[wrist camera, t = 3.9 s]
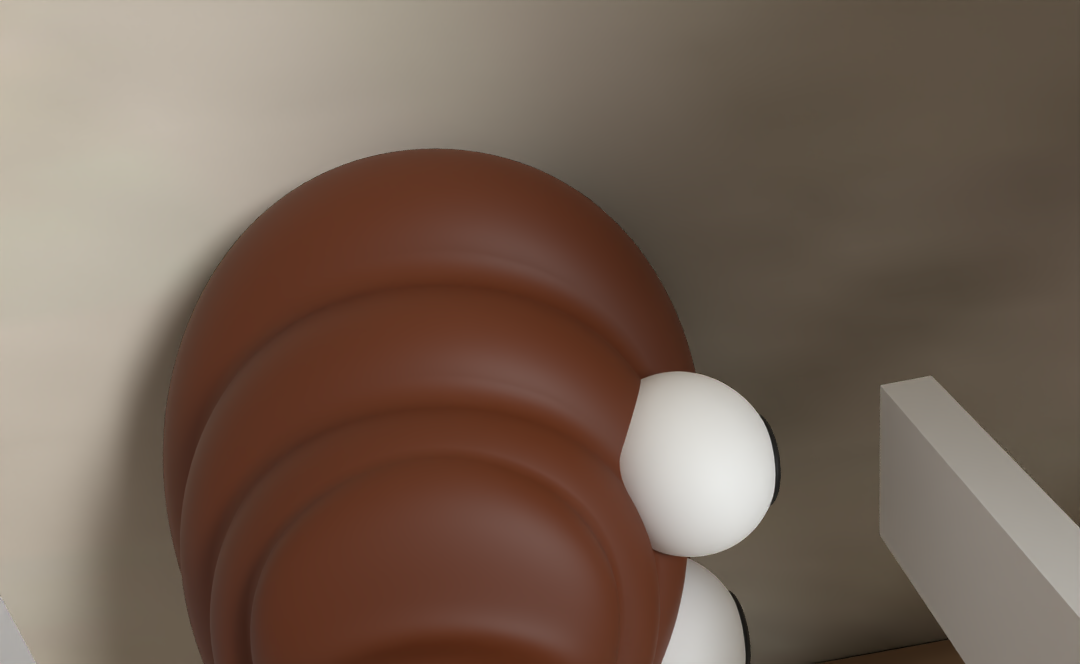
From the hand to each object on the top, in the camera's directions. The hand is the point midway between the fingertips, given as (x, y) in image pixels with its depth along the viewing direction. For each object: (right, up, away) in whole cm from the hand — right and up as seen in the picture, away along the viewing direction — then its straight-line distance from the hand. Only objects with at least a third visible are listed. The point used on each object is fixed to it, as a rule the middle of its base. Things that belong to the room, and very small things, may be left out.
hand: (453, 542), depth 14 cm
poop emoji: (0, +2, +3) cm, 3 cm away
